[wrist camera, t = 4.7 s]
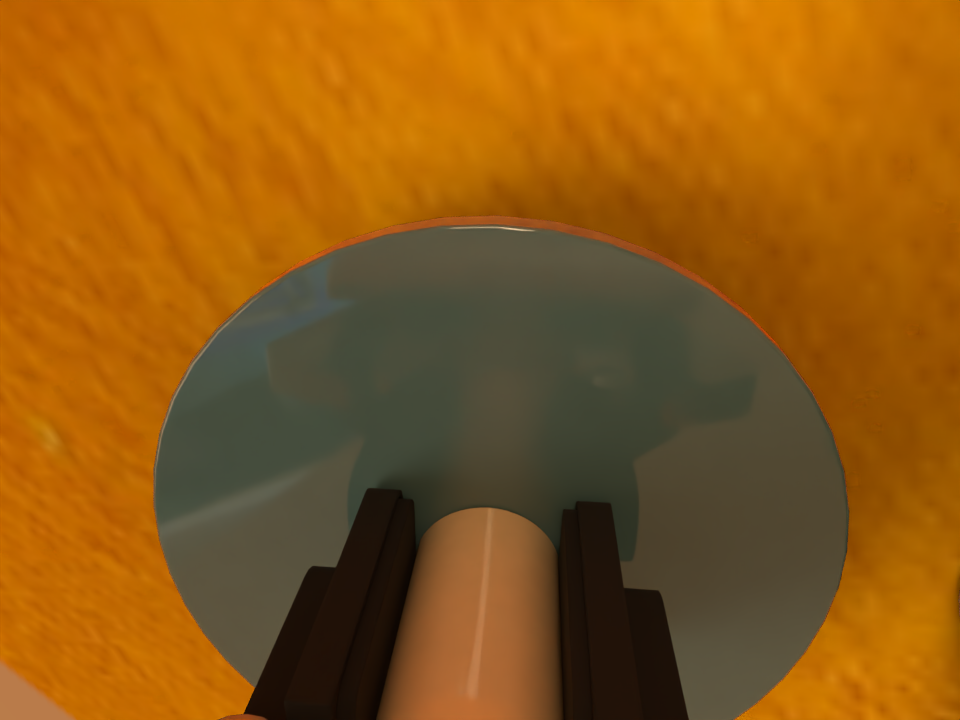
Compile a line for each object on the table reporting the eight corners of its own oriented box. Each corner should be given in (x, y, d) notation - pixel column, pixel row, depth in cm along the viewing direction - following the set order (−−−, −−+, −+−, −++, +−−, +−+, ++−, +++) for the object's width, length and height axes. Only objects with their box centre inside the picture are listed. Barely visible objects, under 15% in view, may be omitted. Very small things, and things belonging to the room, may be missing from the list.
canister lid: (126, 192, 10) (-373, 373, 5) (905, 218, 9) (1432, 472, 4) (232, 705, 15) (52, 1094, 10) (752, 749, 14) (887, 1201, 9)
